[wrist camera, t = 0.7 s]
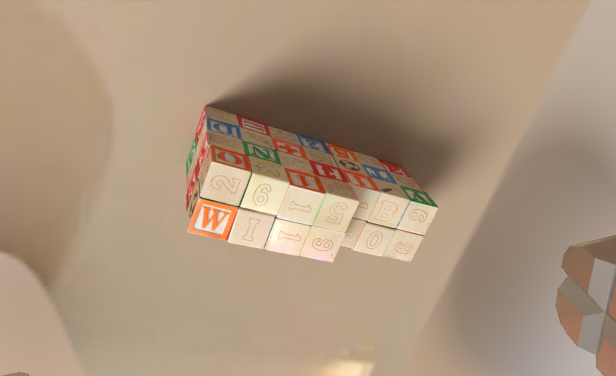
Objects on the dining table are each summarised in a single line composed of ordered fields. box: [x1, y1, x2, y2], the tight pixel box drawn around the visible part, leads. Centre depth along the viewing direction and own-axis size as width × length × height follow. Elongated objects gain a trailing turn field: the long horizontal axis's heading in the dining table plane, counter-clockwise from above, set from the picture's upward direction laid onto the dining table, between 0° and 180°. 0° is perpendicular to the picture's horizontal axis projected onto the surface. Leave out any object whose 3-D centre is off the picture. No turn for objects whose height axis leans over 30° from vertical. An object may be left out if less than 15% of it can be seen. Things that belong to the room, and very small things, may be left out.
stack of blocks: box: [186, 106, 439, 262], centre depth 48 cm, size 21×6×12 cm, turn 69°
